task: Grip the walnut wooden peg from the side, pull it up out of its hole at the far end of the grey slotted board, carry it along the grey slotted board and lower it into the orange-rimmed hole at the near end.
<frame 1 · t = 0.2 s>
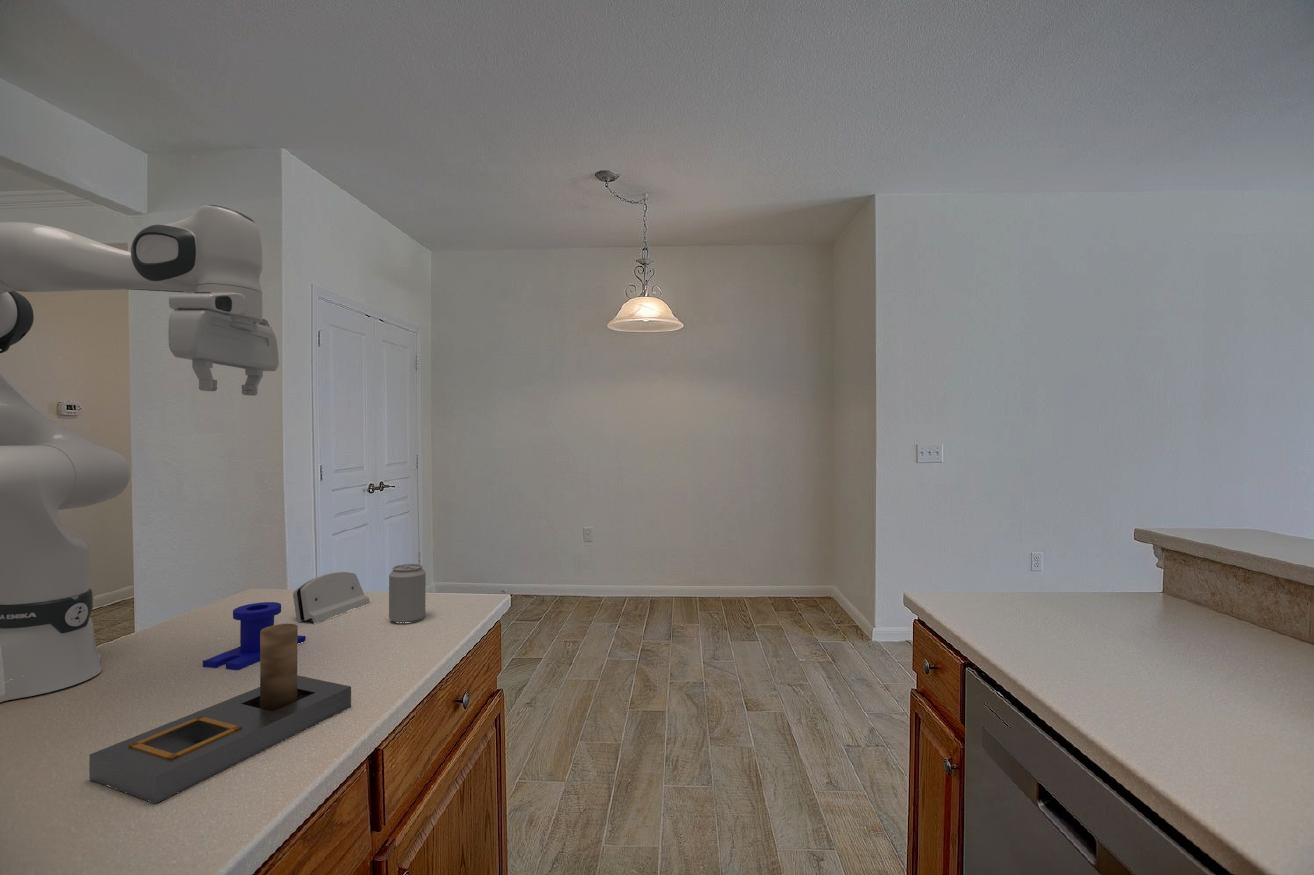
hand: (229, 393, 97), 48 cm above the worktop, tool pointing down, fingers open, 8 cm apart
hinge: (331, 613, 137), on the worktop
grey slotted board: (236, 738, 79), on the worktop
can: (407, 620, 131), on the worktop
mount: (257, 655, 111), on the worktop
peg: (278, 719, 85), resting in grey slotted board
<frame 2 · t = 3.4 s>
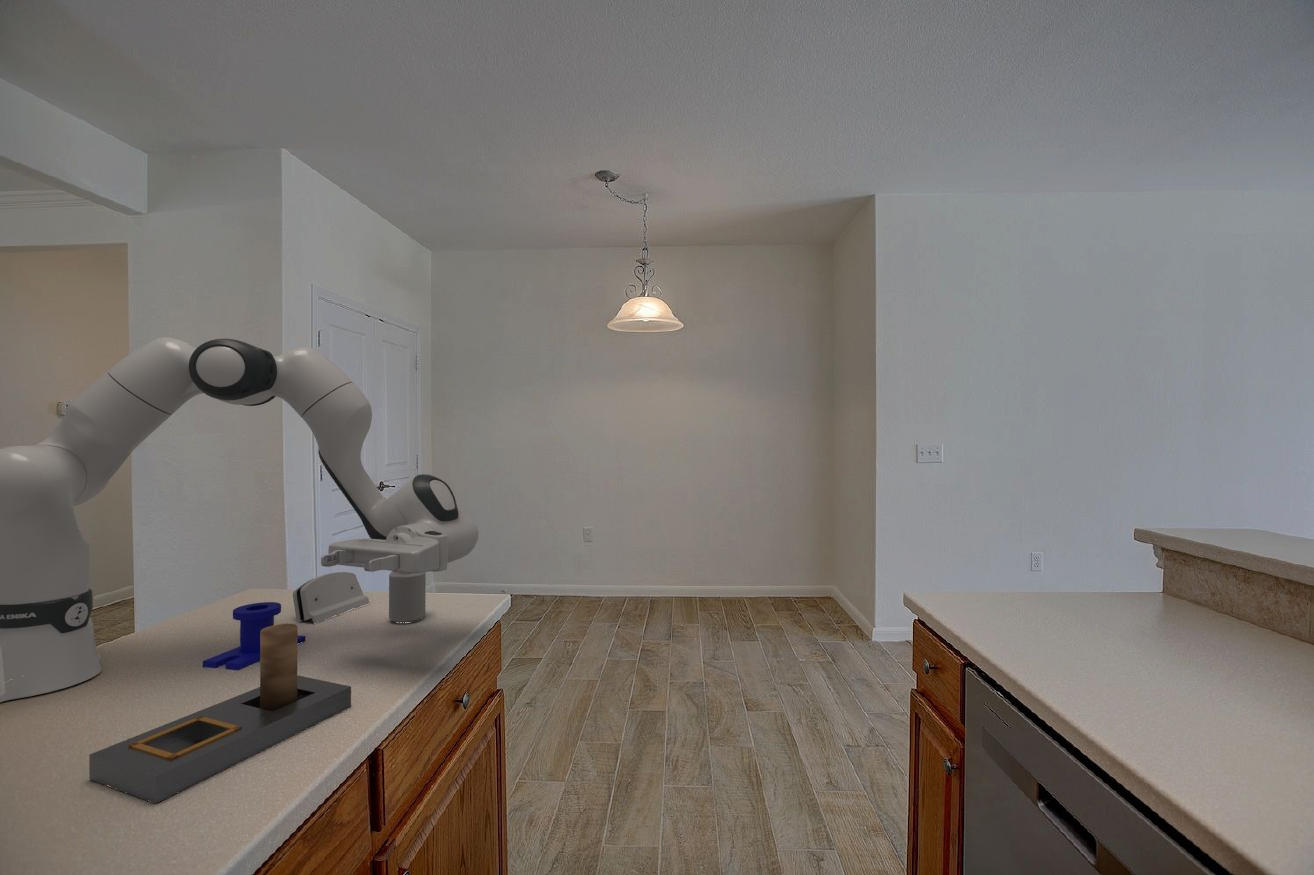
hand: (345, 563, 95), 20 cm above the worktop, tool horizontal, fingers open, 8 cm apart
nothing on the worktop moved.
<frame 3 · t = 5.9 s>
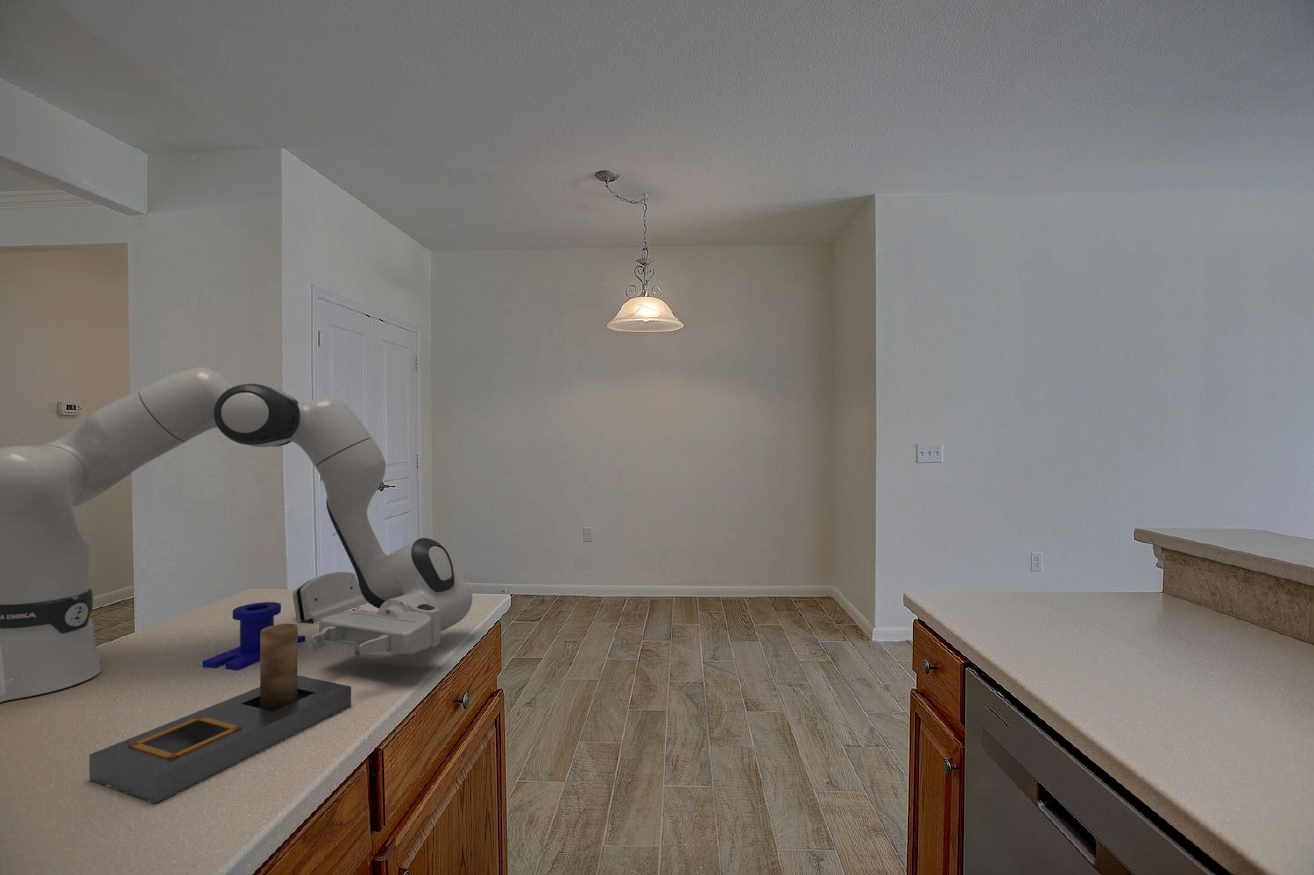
hand: (335, 646, 94), 7 cm above the worktop, tool horizontal, fingers open, 8 cm apart
nothing on the worktop moved.
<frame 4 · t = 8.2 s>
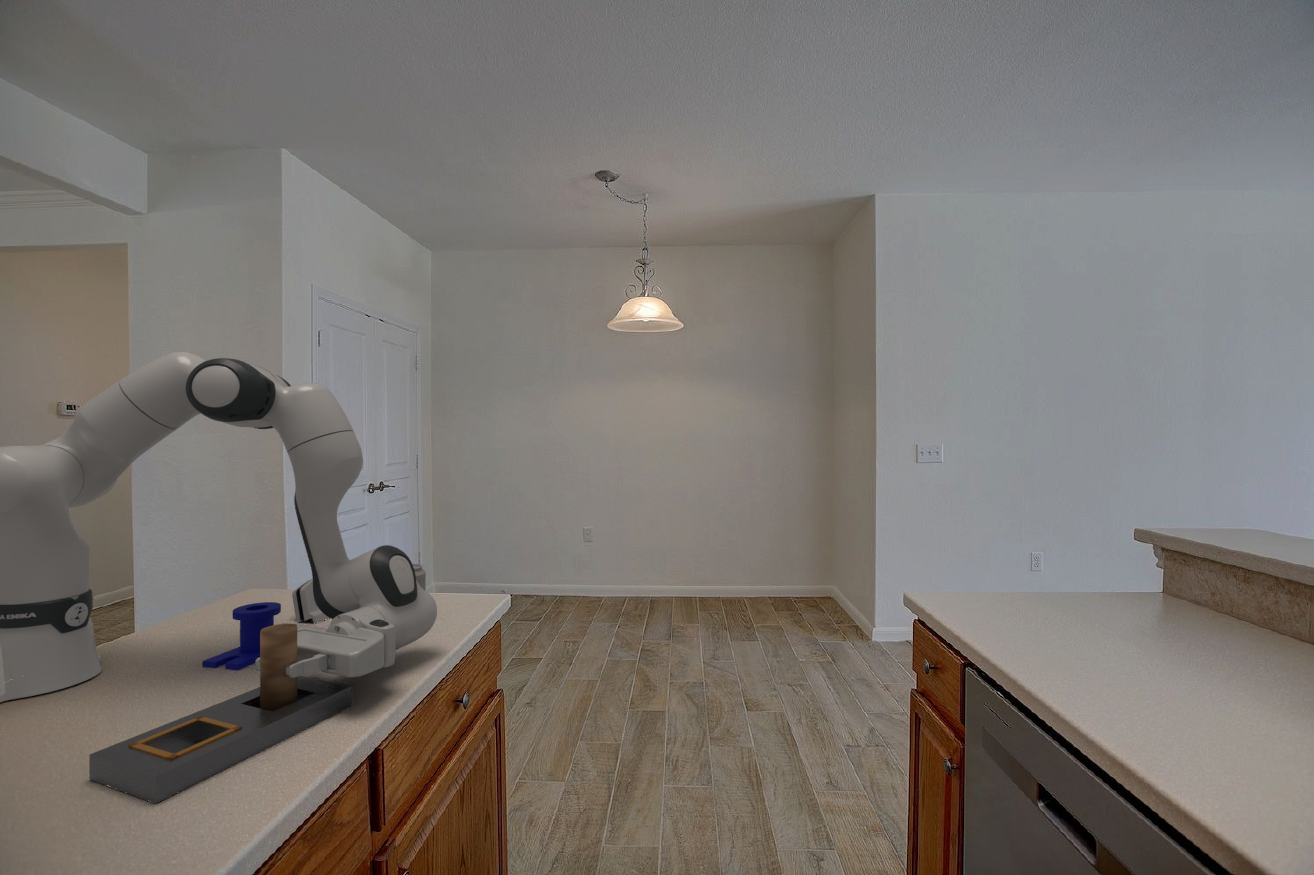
hand: (273, 668, 84), 8 cm above the worktop, tool horizontal, fingers closed on peg, 4 cm apart
peg: (278, 718, 85), resting in grey slotted board, touching gripper
everything else where it was.
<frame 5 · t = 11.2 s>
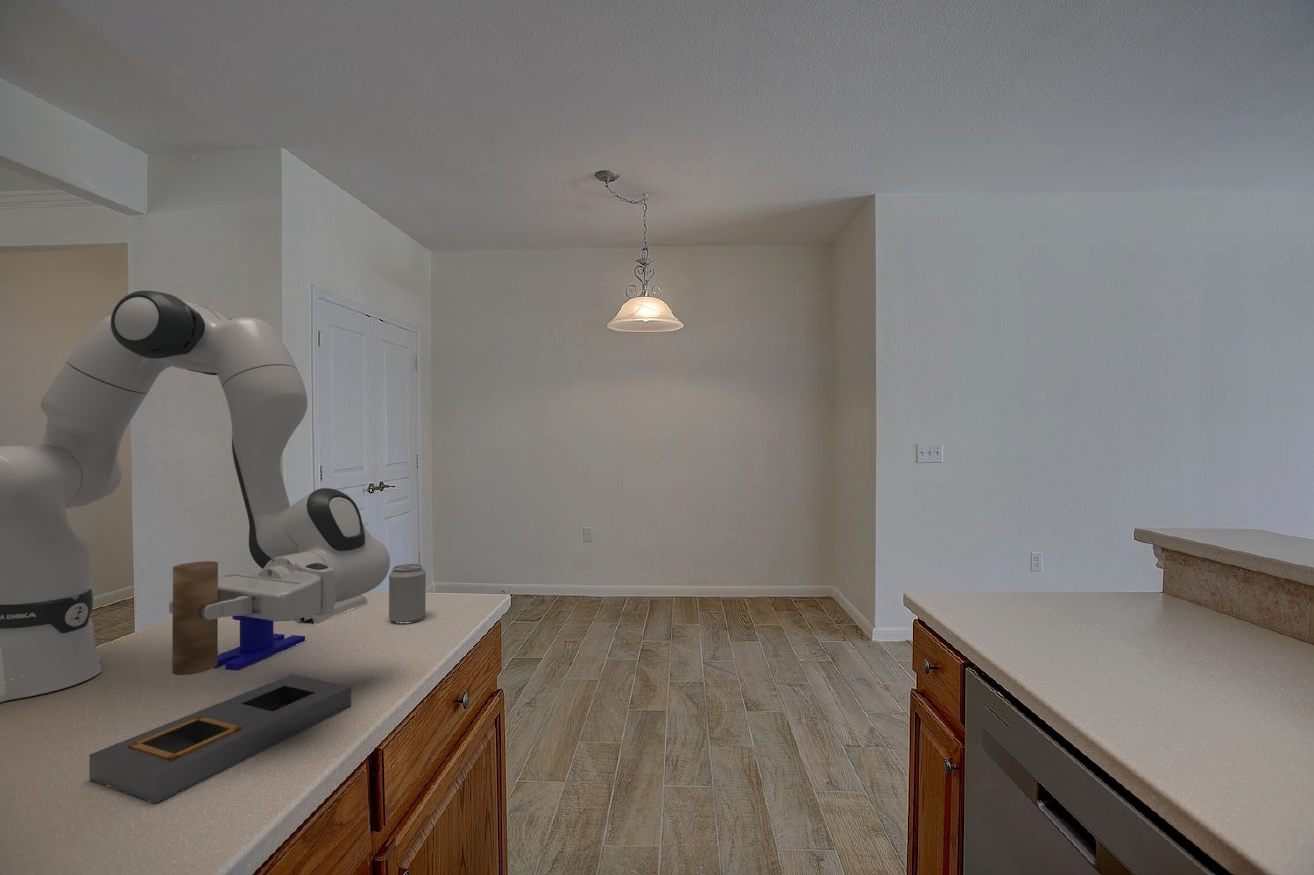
hand: (187, 610, 74), 19 cm above the worktop, tool horizontal, fingers closed on peg, 4 cm apart
peg: (195, 667, 75), point 11 cm above the worktop, touching gripper
everything else where it was.
when the fingers open (9 cm above the worktop, at t = 14.2 s): peg drops 1 cm, resting in grey slotted board.
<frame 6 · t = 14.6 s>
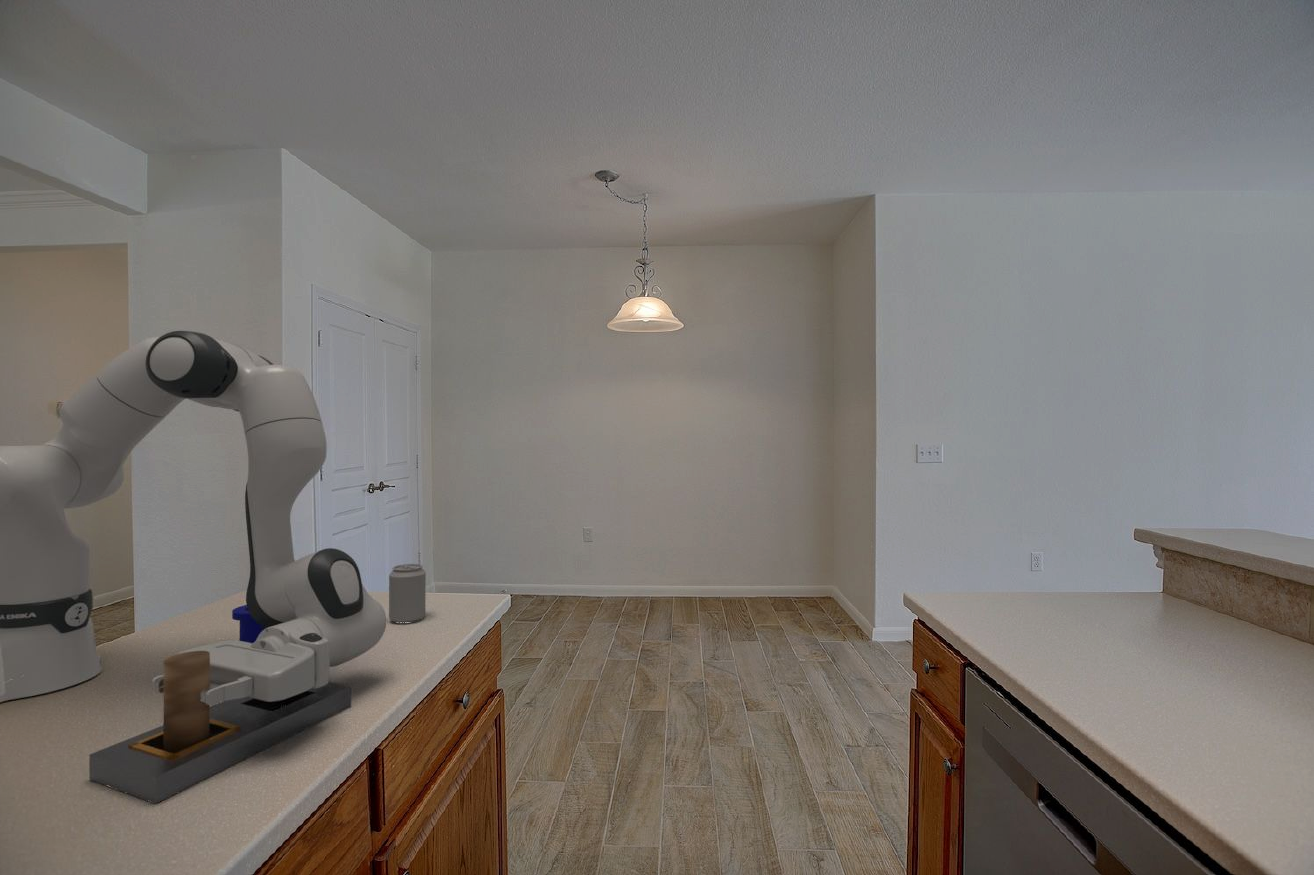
hand: (179, 692, 73), 9 cm above the worktop, tool horizontal, fingers open, 8 cm apart
peg: (186, 761, 74), resting in grey slotted board
everything else where it was.
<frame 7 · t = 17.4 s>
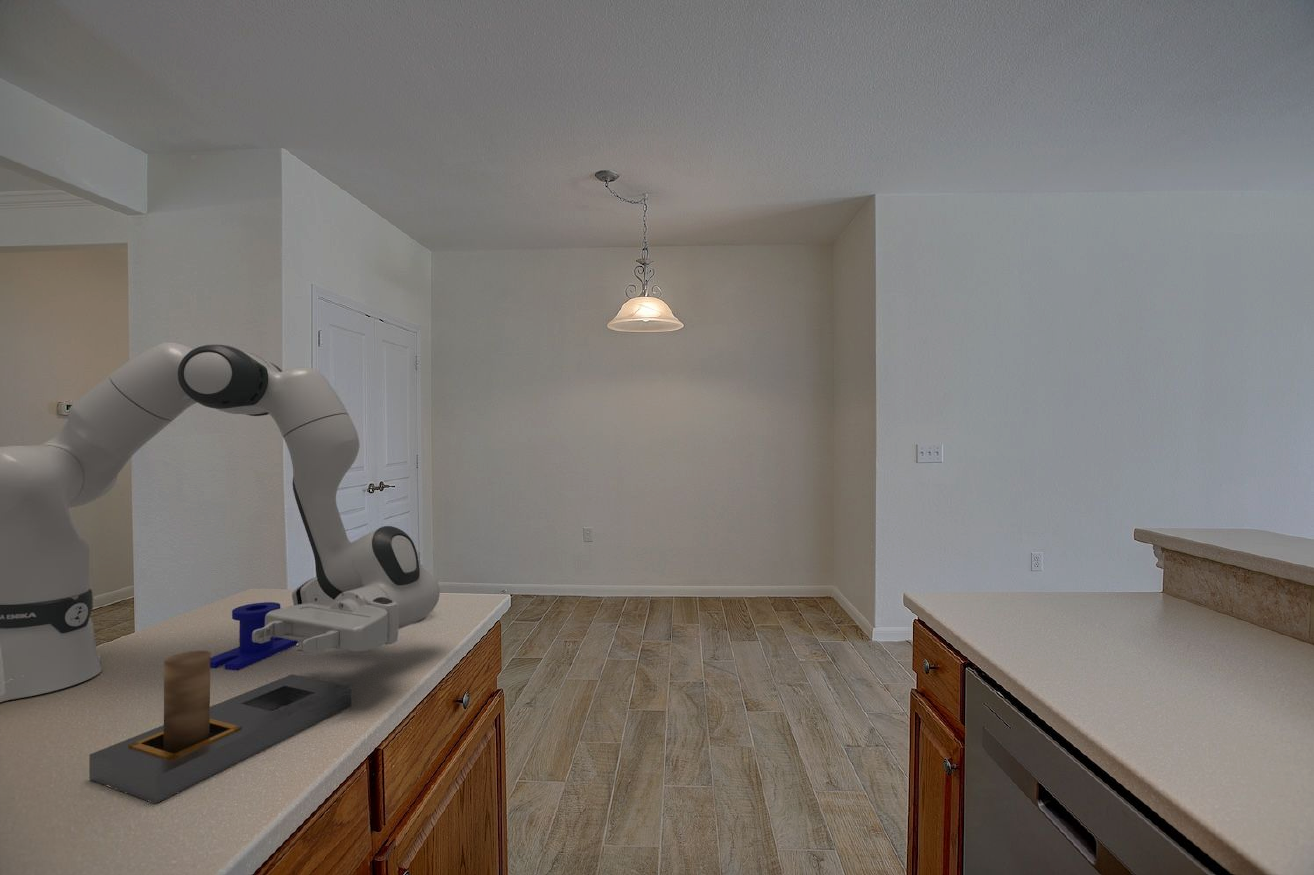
hand: (277, 642, 85), 11 cm above the worktop, tool horizontal, fingers open, 8 cm apart
nothing on the worktop moved.
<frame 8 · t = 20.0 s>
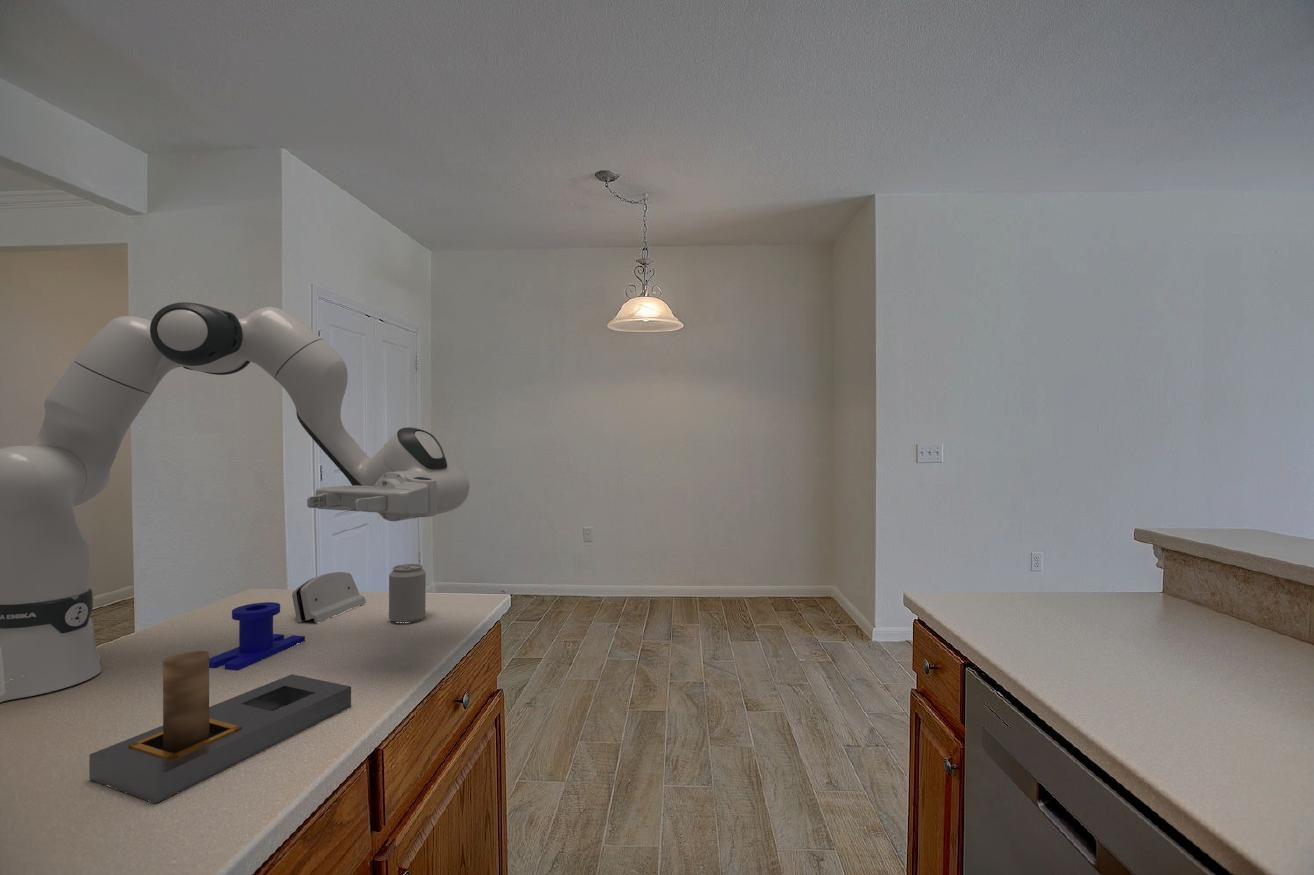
hand: (331, 503, 93), 30 cm above the worktop, tool horizontal, fingers open, 8 cm apart
nothing on the worktop moved.
at the end: peg 0.1 cm from the target spot on the grey slotted board, point 0.0 cm above the grey slotted board's base; peg tilted 1°; the gripper is holding nothing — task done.
